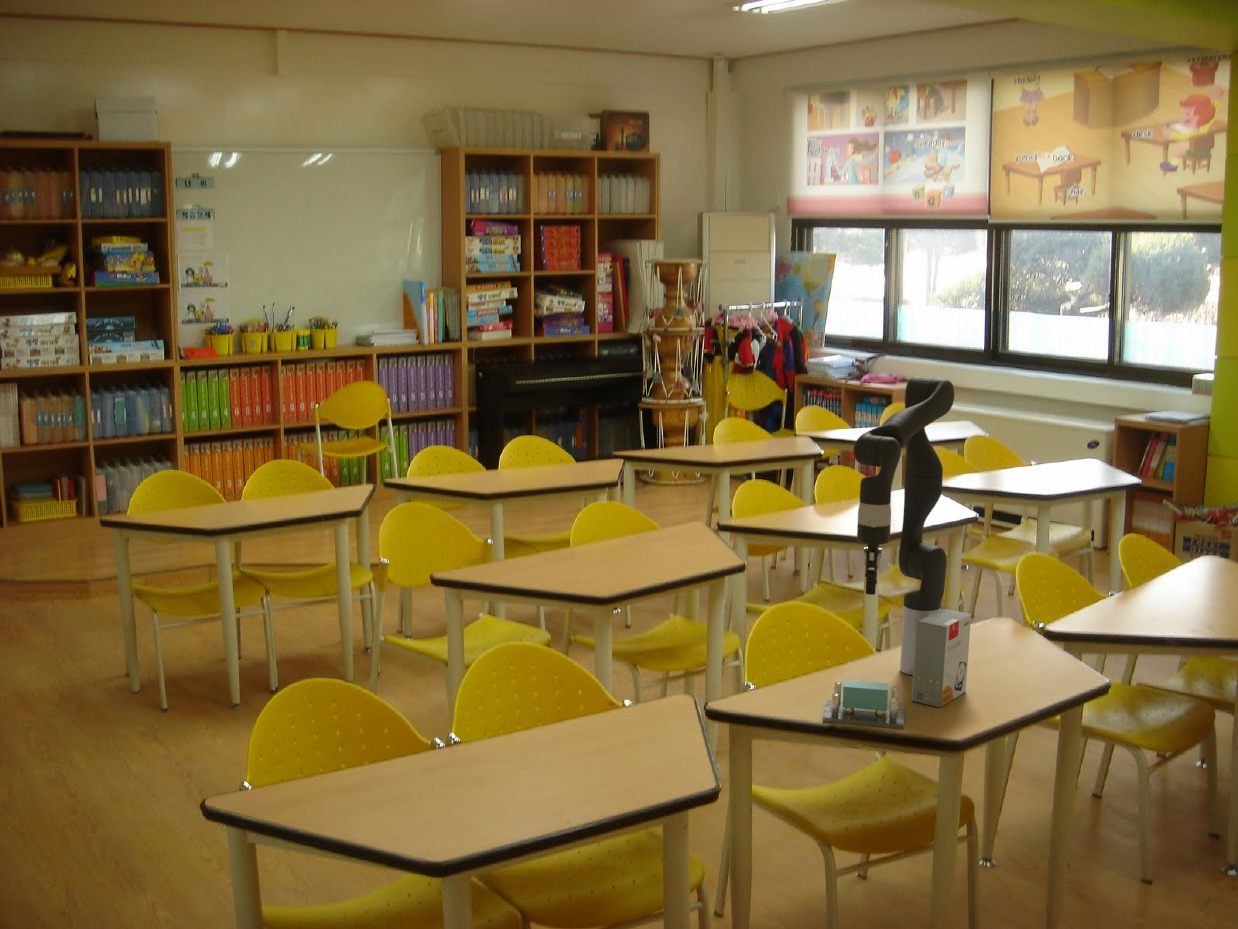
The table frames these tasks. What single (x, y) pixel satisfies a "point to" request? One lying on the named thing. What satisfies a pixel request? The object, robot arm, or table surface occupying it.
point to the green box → (865, 695)
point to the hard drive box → (941, 657)
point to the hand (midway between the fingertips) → (871, 589)
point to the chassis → (864, 712)
